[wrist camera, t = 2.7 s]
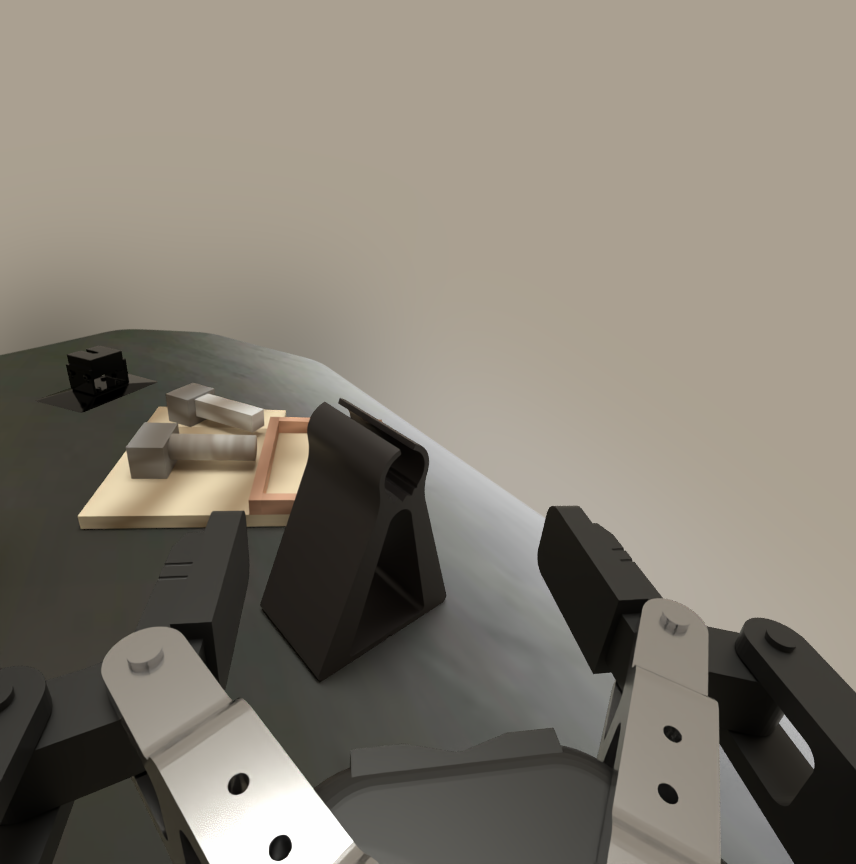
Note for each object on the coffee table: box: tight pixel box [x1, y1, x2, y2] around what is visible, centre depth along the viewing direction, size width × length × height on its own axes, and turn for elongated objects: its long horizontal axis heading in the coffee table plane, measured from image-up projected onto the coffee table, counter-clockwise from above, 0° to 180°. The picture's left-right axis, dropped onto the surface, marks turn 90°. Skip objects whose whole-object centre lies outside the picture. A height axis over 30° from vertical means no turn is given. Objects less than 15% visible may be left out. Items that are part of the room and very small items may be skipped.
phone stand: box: [260, 398, 446, 681], centre depth 27 cm, size 9×6×12 cm, turn 133°
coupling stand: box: [78, 383, 382, 529], centre depth 41 cm, size 21×17×4 cm
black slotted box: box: [35, 346, 157, 413], centre depth 50 cm, size 12×7×5 cm, turn 162°
